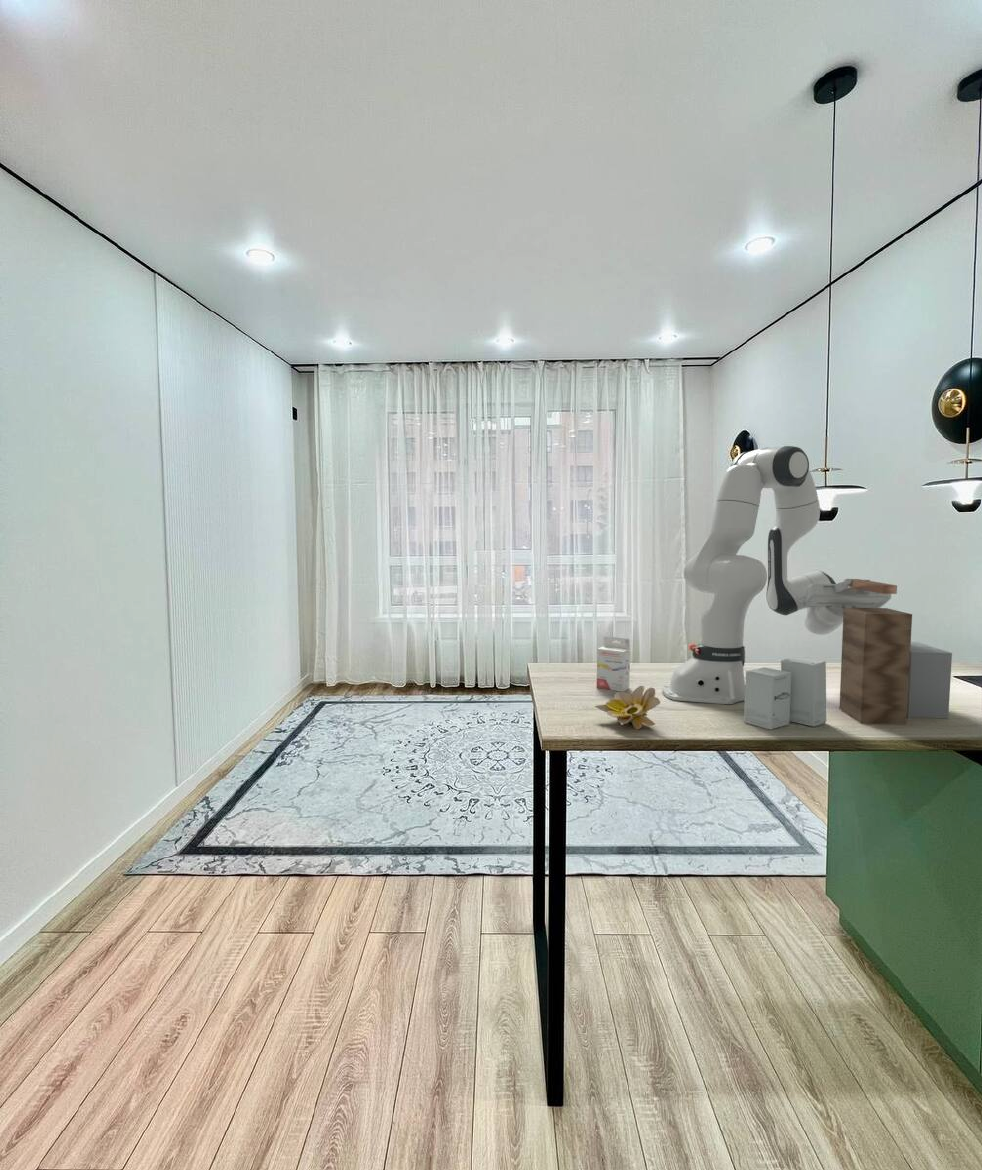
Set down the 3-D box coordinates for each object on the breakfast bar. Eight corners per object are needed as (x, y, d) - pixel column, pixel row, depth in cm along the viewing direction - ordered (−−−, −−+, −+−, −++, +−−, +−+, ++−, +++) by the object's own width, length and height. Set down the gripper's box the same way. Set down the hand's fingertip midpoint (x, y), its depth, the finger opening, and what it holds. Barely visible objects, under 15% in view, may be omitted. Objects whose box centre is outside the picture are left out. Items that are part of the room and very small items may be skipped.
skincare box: (826, 723, 147) (829, 661, 145) (812, 728, 143) (815, 664, 142) (792, 715, 154) (794, 655, 152) (778, 719, 150) (780, 658, 149)
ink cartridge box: (595, 688, 181) (596, 638, 180) (602, 684, 186) (602, 635, 184) (623, 692, 177) (624, 640, 176) (630, 688, 181) (630, 638, 180)
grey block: (908, 717, 151) (911, 652, 150) (877, 700, 167) (880, 641, 165) (948, 718, 150) (952, 652, 149) (913, 701, 166) (916, 641, 164)
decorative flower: (586, 708, 154) (596, 670, 153) (625, 715, 157) (636, 677, 156) (614, 731, 139) (625, 689, 139) (657, 738, 143) (668, 696, 142)
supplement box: (771, 730, 142) (773, 676, 141) (742, 722, 148) (744, 670, 147) (790, 725, 146) (792, 672, 145) (762, 717, 152) (763, 666, 151)
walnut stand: (860, 723, 147) (865, 613, 145) (839, 708, 159) (843, 607, 157) (906, 724, 145) (912, 614, 143) (881, 710, 157) (886, 608, 155)
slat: (882, 593, 144) (883, 585, 144) (845, 586, 164) (845, 578, 163) (896, 593, 143) (897, 585, 143) (857, 586, 163) (858, 579, 163)
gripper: (796, 592, 175) (813, 570, 162) (874, 594, 172) (898, 571, 159) (799, 613, 172) (817, 592, 160) (879, 615, 169) (903, 594, 157)
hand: (858, 582), depth 159 cm, fingers closed on slat, 3 cm apart
